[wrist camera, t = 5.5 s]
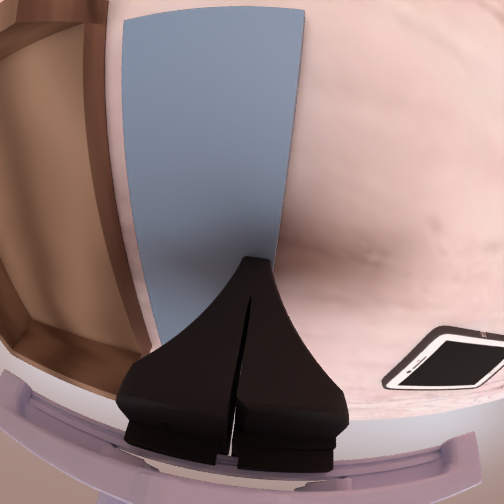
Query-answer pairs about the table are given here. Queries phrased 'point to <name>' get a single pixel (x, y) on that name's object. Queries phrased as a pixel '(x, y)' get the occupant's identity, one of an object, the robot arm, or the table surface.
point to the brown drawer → (61, 201)
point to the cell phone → (449, 361)
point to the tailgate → (207, 146)
